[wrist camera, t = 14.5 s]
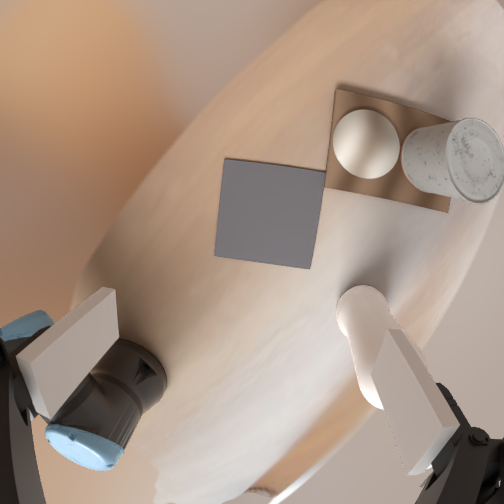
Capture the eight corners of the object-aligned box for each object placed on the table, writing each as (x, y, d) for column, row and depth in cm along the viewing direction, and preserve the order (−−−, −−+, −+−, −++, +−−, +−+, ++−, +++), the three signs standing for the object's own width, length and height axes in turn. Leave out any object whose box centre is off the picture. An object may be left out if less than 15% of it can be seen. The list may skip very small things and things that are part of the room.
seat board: (323, 186, 41) (325, 187, 39) (335, 90, 37) (337, 87, 35) (444, 211, 40) (449, 213, 38) (454, 125, 36) (460, 124, 34)
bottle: (330, 288, 45) (387, 450, 16) (381, 277, 44) (484, 413, 15) (337, 333, 47) (380, 496, 18) (384, 322, 46) (461, 467, 17)
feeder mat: (214, 255, 45) (214, 255, 45) (224, 159, 41) (224, 159, 41) (309, 268, 44) (309, 269, 44) (325, 172, 40) (325, 172, 40)
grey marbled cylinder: (444, 121, 34) (493, 111, 23) (462, 183, 37) (512, 192, 25) (392, 135, 36) (433, 126, 24) (412, 200, 38) (457, 215, 26)
